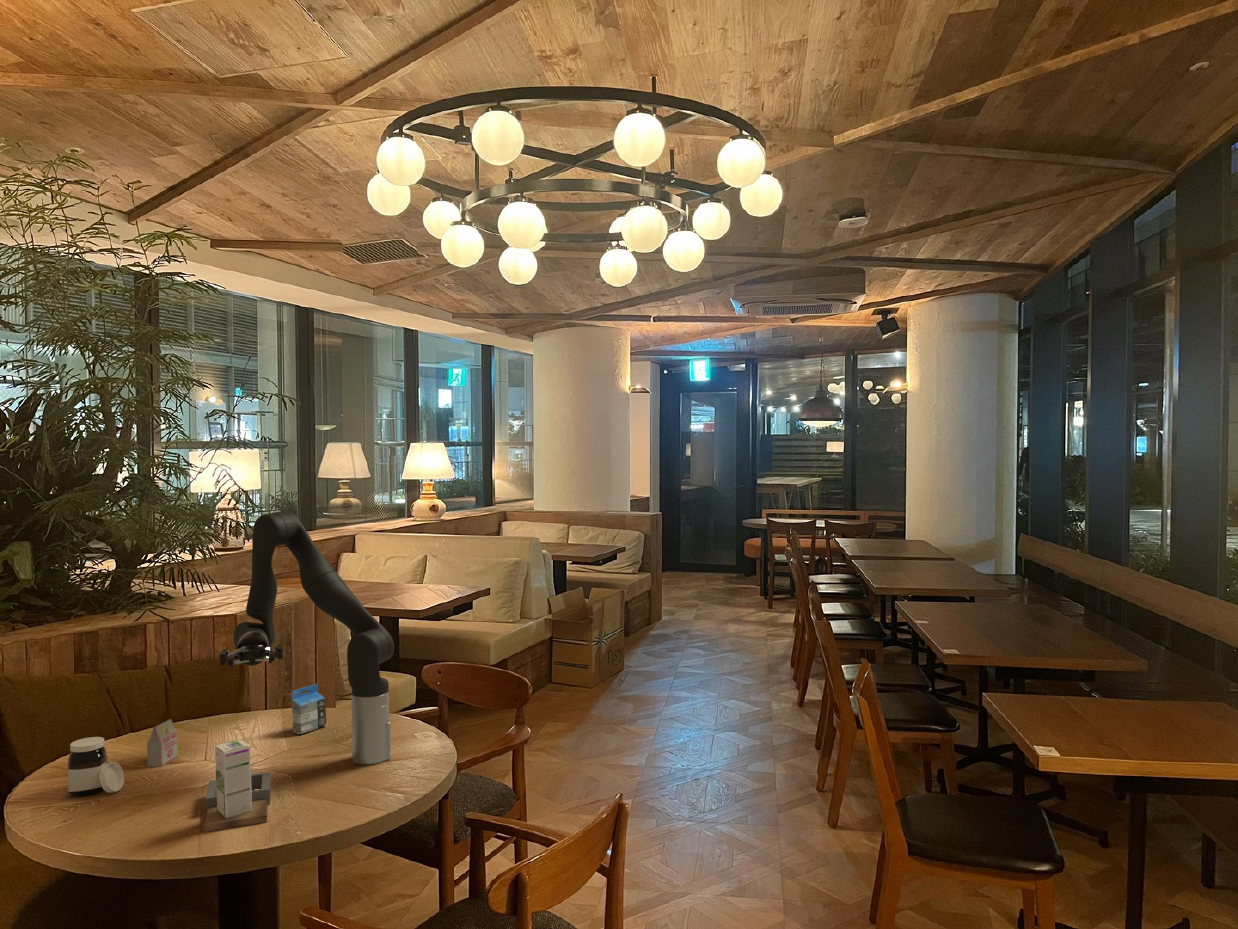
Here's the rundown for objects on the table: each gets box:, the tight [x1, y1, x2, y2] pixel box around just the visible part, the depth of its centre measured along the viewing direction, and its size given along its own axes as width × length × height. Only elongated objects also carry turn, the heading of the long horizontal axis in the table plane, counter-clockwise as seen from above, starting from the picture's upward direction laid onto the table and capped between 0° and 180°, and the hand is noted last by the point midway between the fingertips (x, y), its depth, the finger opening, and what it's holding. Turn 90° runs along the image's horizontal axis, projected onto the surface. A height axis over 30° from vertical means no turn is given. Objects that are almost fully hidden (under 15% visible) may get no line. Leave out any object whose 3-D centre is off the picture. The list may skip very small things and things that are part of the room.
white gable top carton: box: [146, 718, 179, 768], centre depth 211 cm, size 4×7×10 cm, turn 175°
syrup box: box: [214, 739, 252, 818], centre depth 177 cm, size 6×6×14 cm
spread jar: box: [67, 736, 125, 798], centre depth 193 cm, size 12×11×12 cm
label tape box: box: [291, 683, 327, 735], centre depth 235 cm, size 9×4×12 cm, turn 149°
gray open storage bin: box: [204, 771, 271, 815], centre depth 187 cm, size 13×11×4 cm
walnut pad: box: [203, 799, 268, 833], centre depth 177 cm, size 12×9×2 cm
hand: (251, 661), depth 196 cm, fingers open, 8 cm apart
